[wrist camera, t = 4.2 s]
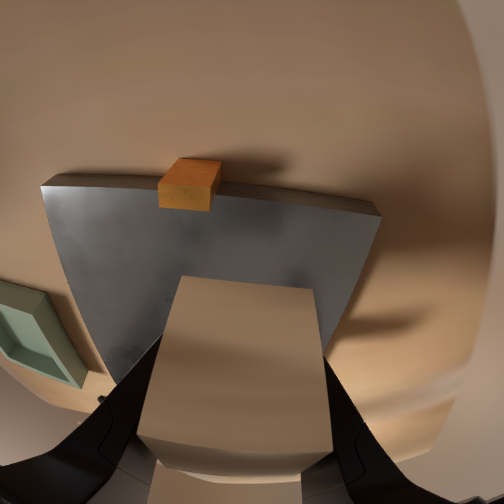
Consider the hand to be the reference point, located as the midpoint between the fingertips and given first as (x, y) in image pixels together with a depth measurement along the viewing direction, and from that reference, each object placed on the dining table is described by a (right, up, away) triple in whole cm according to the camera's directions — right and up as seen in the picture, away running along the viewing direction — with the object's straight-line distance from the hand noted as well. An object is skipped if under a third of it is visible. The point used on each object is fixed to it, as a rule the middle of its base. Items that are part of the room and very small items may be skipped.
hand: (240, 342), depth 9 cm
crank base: (-3, -2, +10) cm, 10 cm away
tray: (-23, -4, +13) cm, 26 cm away
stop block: (0, 0, +1) cm, 1 cm away
